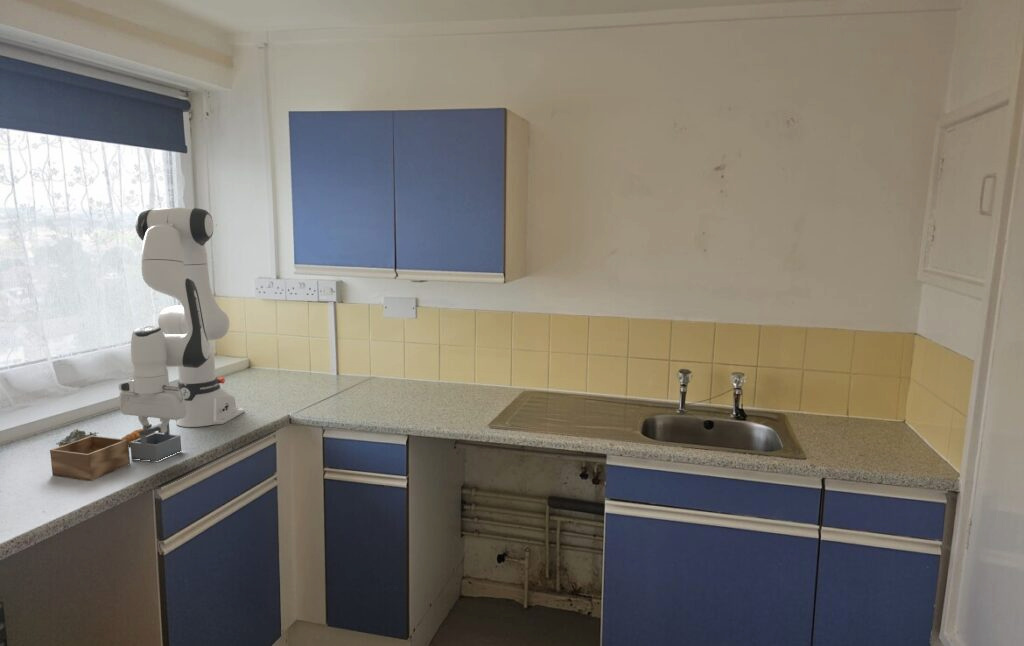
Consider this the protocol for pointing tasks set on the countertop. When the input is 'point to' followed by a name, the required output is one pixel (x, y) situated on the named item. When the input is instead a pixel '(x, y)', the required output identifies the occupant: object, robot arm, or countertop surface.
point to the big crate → (90, 457)
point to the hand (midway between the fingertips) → (155, 431)
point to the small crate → (155, 444)
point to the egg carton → (75, 437)
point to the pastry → (134, 436)
